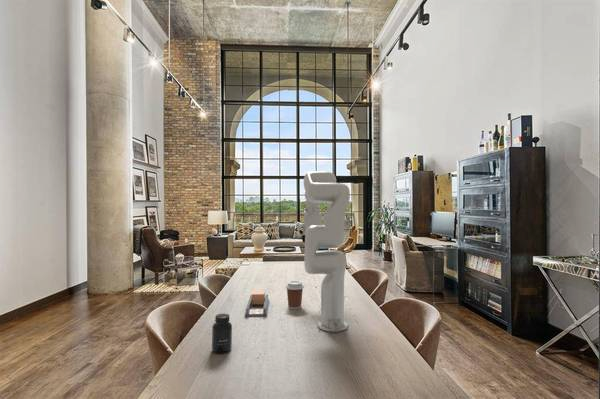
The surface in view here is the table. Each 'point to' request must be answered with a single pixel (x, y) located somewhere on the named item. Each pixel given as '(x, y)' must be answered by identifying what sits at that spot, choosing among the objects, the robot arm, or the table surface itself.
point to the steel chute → (257, 308)
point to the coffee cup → (294, 294)
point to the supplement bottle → (221, 334)
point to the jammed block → (258, 297)
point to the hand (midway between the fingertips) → (312, 242)
